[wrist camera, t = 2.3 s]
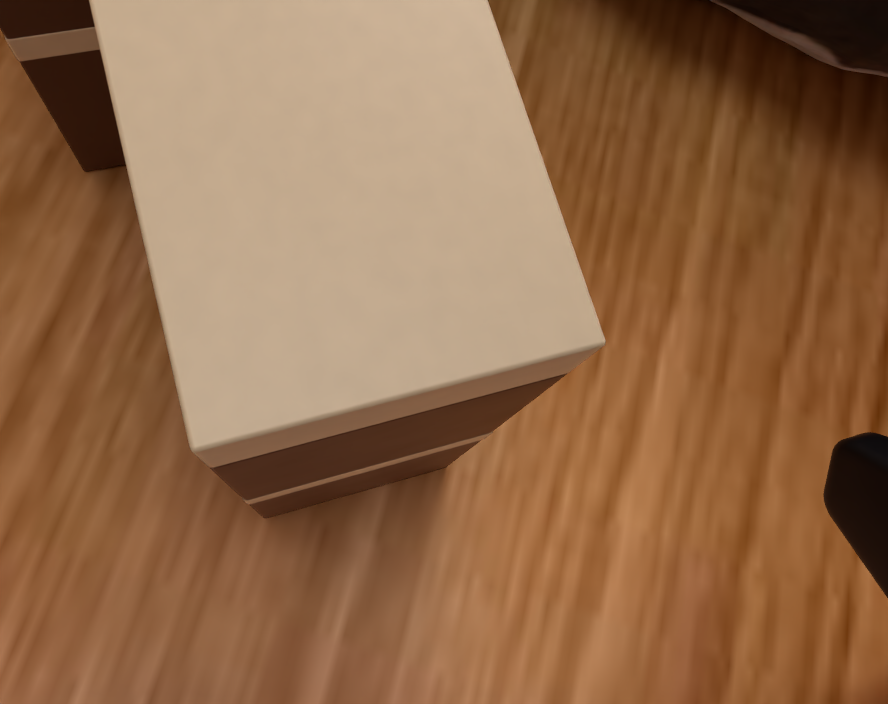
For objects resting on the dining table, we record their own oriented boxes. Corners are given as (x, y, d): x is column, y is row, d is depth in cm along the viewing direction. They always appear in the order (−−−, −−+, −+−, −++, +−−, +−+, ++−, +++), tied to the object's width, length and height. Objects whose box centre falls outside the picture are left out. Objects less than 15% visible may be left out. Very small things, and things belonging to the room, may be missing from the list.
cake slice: (449, 467, 22) (611, 345, 10) (263, 520, 21) (188, 455, 9) (361, 169, 24) (407, -240, 12) (186, 203, 22) (39, -210, 11)
